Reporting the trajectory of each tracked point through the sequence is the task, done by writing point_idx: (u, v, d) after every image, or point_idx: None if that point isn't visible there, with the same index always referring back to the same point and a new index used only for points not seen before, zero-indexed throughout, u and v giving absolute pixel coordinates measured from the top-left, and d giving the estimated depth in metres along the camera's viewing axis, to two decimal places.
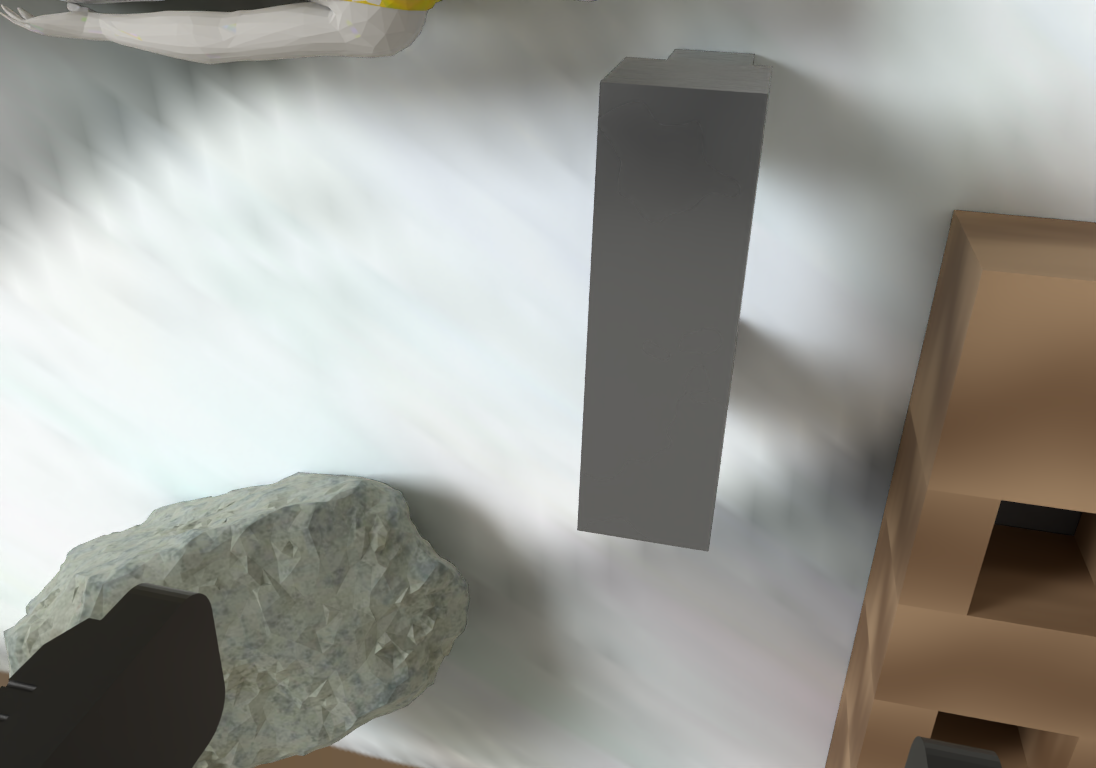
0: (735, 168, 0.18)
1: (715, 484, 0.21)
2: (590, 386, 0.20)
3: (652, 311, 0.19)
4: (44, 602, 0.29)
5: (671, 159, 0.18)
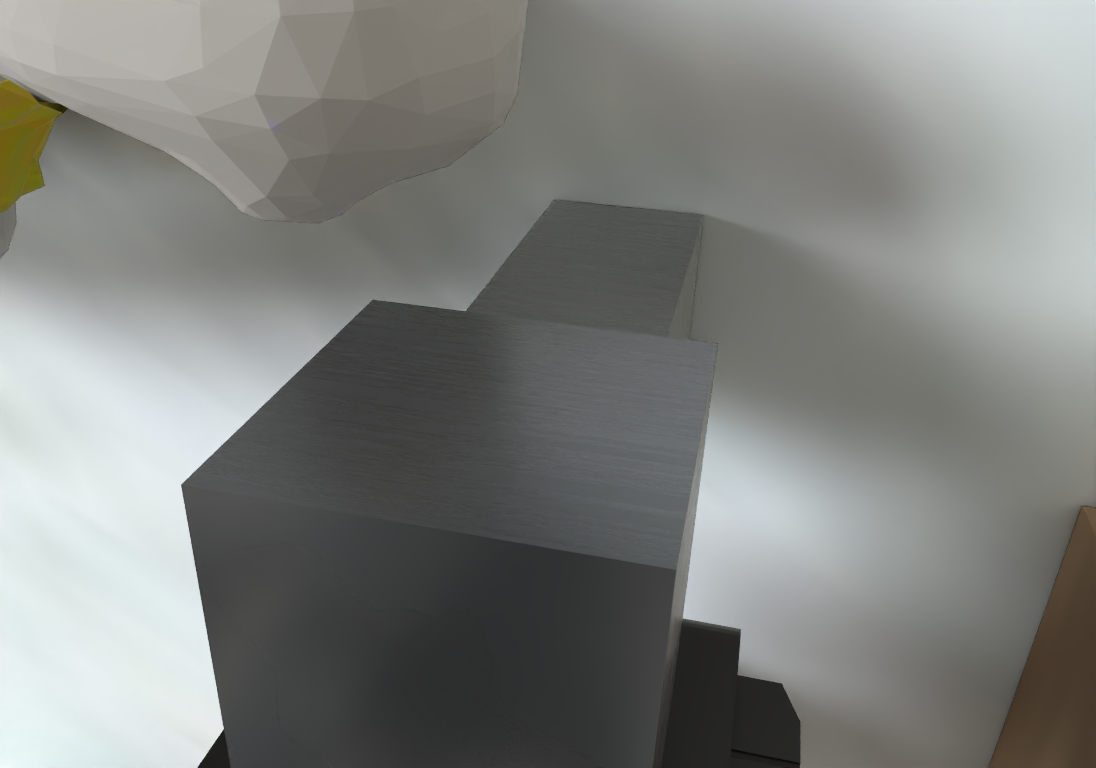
0: (586, 732, 0.06)
1: None
2: None
3: None
4: None
5: (408, 687, 0.06)
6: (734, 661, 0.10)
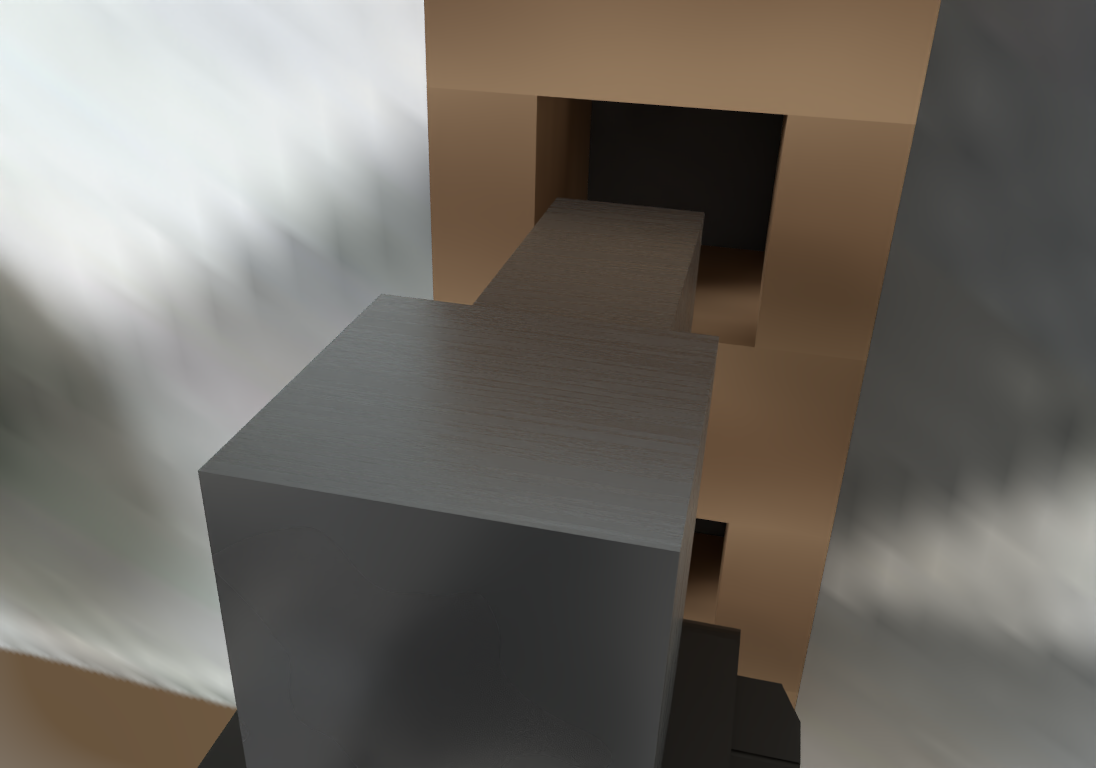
0: (593, 712, 0.06)
1: None
2: None
3: None
4: None
5: (418, 668, 0.06)
6: (734, 661, 0.10)
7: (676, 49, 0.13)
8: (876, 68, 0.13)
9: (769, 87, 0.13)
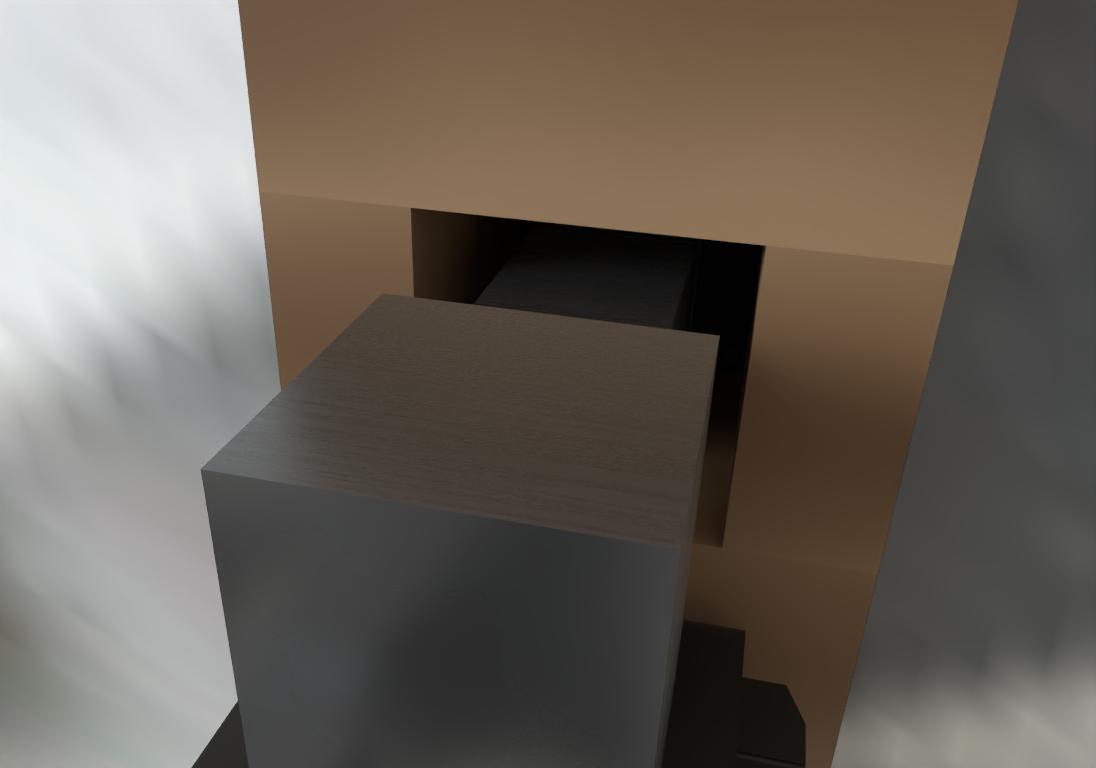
0: (594, 709, 0.06)
1: None
2: None
3: None
4: None
5: (420, 667, 0.06)
6: (739, 662, 0.10)
7: (603, 150, 0.09)
8: (895, 185, 0.09)
9: (739, 207, 0.09)
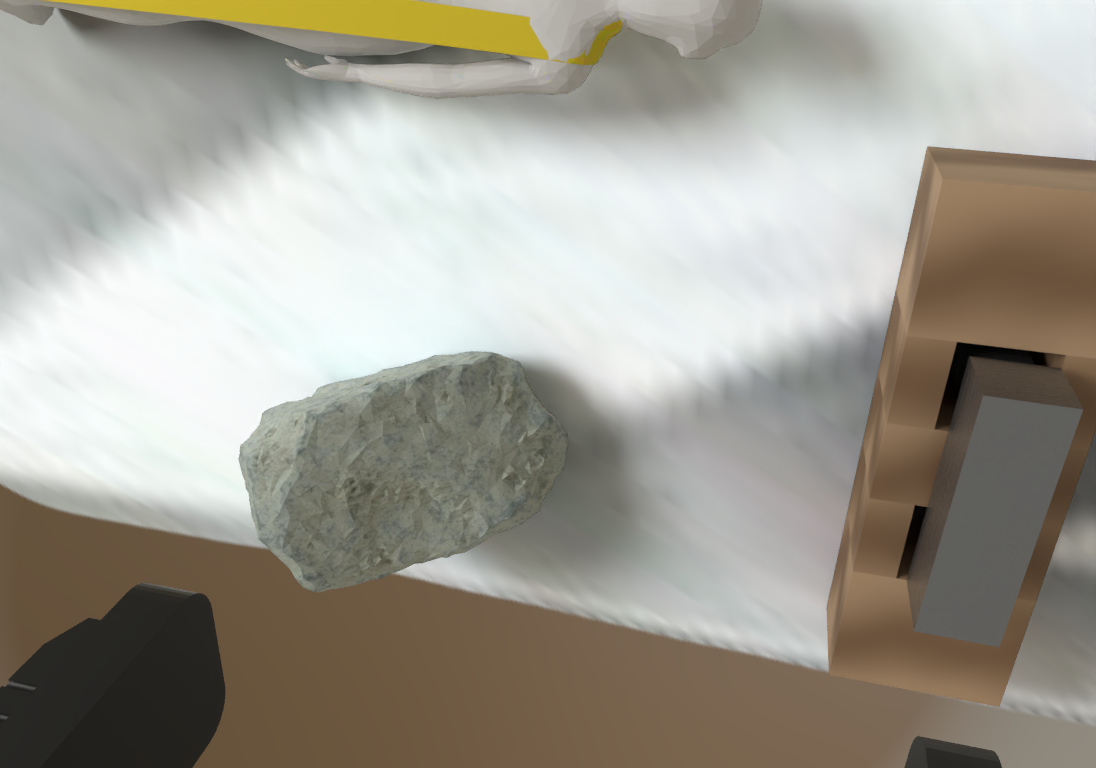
0: (1056, 443, 0.31)
1: (1011, 609, 0.34)
2: (941, 550, 0.34)
3: (990, 512, 0.33)
4: (266, 434, 0.39)
5: (1018, 436, 0.31)
6: None
7: (1022, 329, 0.33)
8: None
9: (1059, 344, 0.33)
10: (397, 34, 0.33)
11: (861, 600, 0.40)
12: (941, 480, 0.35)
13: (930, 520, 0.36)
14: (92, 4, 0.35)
